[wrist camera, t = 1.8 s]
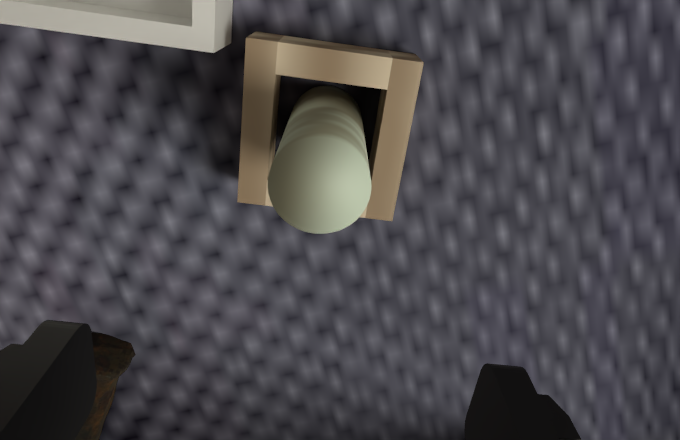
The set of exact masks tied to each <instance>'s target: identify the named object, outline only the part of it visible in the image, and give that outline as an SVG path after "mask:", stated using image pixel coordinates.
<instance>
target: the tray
mask: <svg viewBox="0 0 680 440" xmlns="http://www.w3.org/2000/svg"><path fill="white" fill-rule="evenodd" d="M232 12H233V0H0V23H2V24H9V25H16V26H23V27H30V28H38V29H45V30H52V31H59V32H66V33H74V34H81V35H88V36H95V37H102V38H109V39H117V40H124V41H131V42H138V43H145V44H153V45H160V46H167V47H174V48H181V49H188V50H196V51H203V52H210V53H215V52H217V51H218V50H220V49H222V48H224V47H225V46H227V45H229V44H231V38H232Z"/></svg>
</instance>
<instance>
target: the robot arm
mask: <svg viewBox="0 0 680 440" xmlns="http://www.w3.org/2000/svg"><path fill="white" fill-rule="evenodd" d="M96 389H97V378H96V369H95V360H94V351H93V341H92V333H91V329H90V326H89V325H88V324H84V323H74V322H63V321H53V320H47V321H44V322H43V323H42V324H41V325H40V326H39V327H38V328H37V329H36V330H35V331H34V333H33V334H32V335H31V336H30V337H29V338H28V340H27V341H26V342H25V343H24V344H23V345H18V344H11V345H9V346H7V347H6V348H4V349H2V350H1V351H0V440H75V438H76V437H77V435H78V433H79V431H80V430H81V428H82V426H83V424H84V423H85V421H86V419H87V417H88V416H89V414H90V411H91V409H92V406H93V403H94V400H95V396H96ZM465 440H581V438H580V436H579V434H578V432H577V431H576V429H575V427H574V425H573V423H572V421H571V419H570V417H569V416H568V415H567V414H566V413H565V412H564V411H563V410H562V409H561V408H560V407H559V406H558V405H557V404H556V403H555V401H554V400H553V399H552V398H551V397H550V396H549V395H540V394H537V392H536V390H535V388H534V386H533V384H532V382H531V380H530V378H529V375H528V373H527V372H526V370H525V369H524V368H523V367H518V366H508V365H497V364H485V365H484V366H483V367H482V369H481V372H480V375H479V378H478V381H477V384H476V387H475V390H474V394H473V397H472V400H471V403H470V406H469V409H468V412H467V416H466V420H465Z"/></svg>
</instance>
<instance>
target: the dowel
mask: <svg viewBox="0 0 680 440" xmlns="http://www.w3.org/2000/svg"><path fill="white" fill-rule="evenodd" d="M268 194H269V197H270V200H271V203H272V205H273V207H274V208H275V210H276V212H277V213H278V214H279V215H280V217H282V218H283V219H284V220H285V221H286V222H287V223H289V224H290V225H292V226H293V227H295V228H297V229H299V230H302V231H305V232H309V233H317V234H323V233H331V232H335V231H339V230H341V229H344V228H346V227H347V226H349V225H351V224H352V223H353V222H355V221H356V220H357V219H358V218H359V217H360V216H361V214H362V213H363V212H364V210H365V208H366V207H367V204H368V202H369V199H370V195H371V177H370V170H369V163H368V156H367V149H366V143H365V136H364V129H363V122H362V116H361V111H360V108H359V106H358V104H357V102H356V101H355V99H354V98H353V97H352V96H351V95H350V94H349V93H347V92H346V91H344V90H342V89H340V88H338V87H334V86H318V87H315V88H312V89H310V90H308V91H306V92H305V93H304V94H303V95H301V96H300V98H299V99H298V100H297V102H296V103H295V105H294V107H293V110H292V113H291V115H290V118H289V121H288V123H287V126H286V129H285V131H284V134H283V136H282V139H281V142H280V144H279V147H278V150H277V152H276V155H275V158H274V160H273V163H272V166H271V168H270V172H269V175H268Z"/></svg>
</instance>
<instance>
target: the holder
mask: <svg viewBox="0 0 680 440" xmlns="http://www.w3.org/2000/svg"><path fill="white" fill-rule="evenodd" d="M423 63H424V62H423V61H422V60H421V59H420V58H419V57H418V56H417V55H416V54H410V53H403V52H396V51H389V50H382V49H375V48H368V47H361V46H354V45H347V44H340V43H333V42H326V41H319V40H312V39H305V38H298V37H291V36H284V35H277V34H270V33H263V32H254V33H253V34H251V35H249V36H248V37H246V46H245V66H244V85H243V105H242V124H241V144H240V163H239V183H238V202H241V203H250V204H258V205H266V206H273V205H272V203H271V200H270V197H269V194H268V175H269V172H270V168H271V166H272V163H273V160H274V156H275V144H276V132H277V119H278V107H279V95H280V83H281V75H284V76H291V77H298V78H305V79H313V80H320V81H327V82H334V83H342V84H349V85H356V86H363V87H371V88H378V89H381V93H380V99H379V105H378V111H377V117H376V123H375V129H374V135H373V141H372V147H371V153H370V159H369V170H370V177H371V195H370V199H369V202H368V204H367V207H366V208H365V210H364V212H363V213H362V214H361V216H360V217H363V218H371V219H379V220H387V221H392V219H393V214H394V209H395V204H396V199H397V194H398V189H399V184H400V179H401V174H402V169H403V164H404V159H405V154H406V149H407V144H408V139H409V134H410V129H411V124H412V119H413V114H414V109H415V104H416V98H417V93H418V88H419V83H420V78H421V73H422V68H423Z"/></svg>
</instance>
